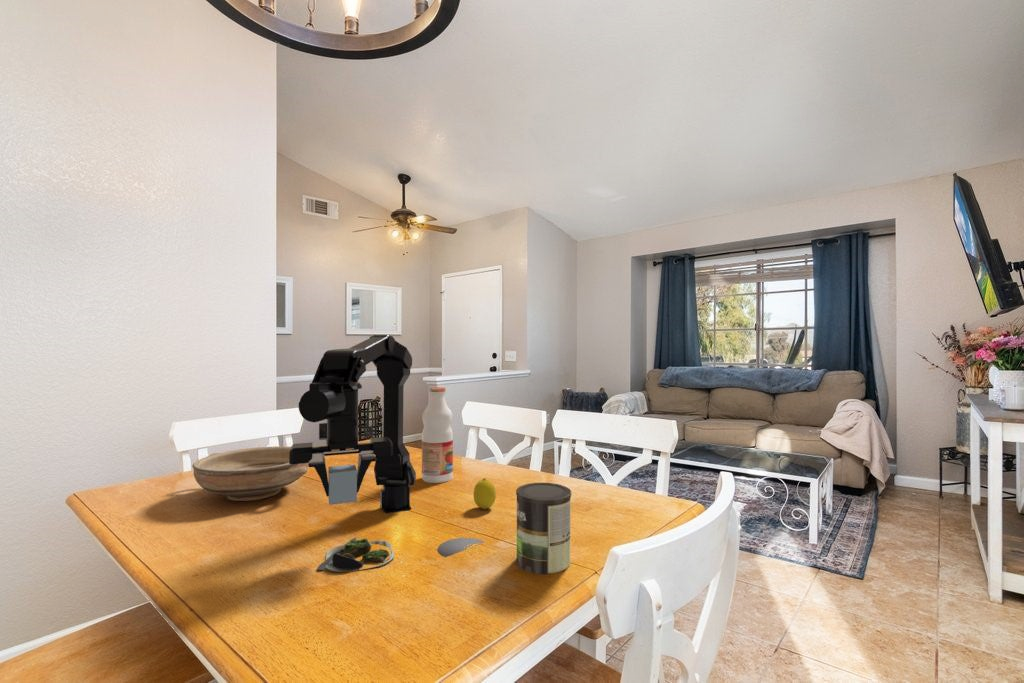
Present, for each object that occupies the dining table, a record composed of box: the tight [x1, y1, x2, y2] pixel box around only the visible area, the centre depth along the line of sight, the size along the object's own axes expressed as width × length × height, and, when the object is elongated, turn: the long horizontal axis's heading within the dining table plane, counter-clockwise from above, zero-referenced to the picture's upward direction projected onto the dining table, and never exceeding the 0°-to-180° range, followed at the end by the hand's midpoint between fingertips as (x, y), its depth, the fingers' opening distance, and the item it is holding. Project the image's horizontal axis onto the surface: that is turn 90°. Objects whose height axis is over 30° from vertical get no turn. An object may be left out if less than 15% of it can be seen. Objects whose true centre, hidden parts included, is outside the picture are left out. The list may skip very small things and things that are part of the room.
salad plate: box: [317, 537, 395, 574], centre depth 92 cm, size 15×14×4 cm
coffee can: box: [515, 482, 572, 575], centre depth 89 cm, size 10×10×14 cm
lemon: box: [473, 477, 497, 510], centre depth 118 cm, size 6×6×8 cm
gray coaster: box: [437, 537, 485, 558], centre depth 95 cm, size 10×10×1 cm
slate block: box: [327, 464, 358, 506], centre depth 93 cm, size 5×5×6 cm
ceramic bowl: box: [192, 446, 309, 502], centre depth 132 cm, size 37×29×10 cm
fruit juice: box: [421, 386, 454, 484], centre depth 145 cm, size 9×9×28 cm
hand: (342, 493), depth 93 cm, fingers closed on slate block, 5 cm apart
